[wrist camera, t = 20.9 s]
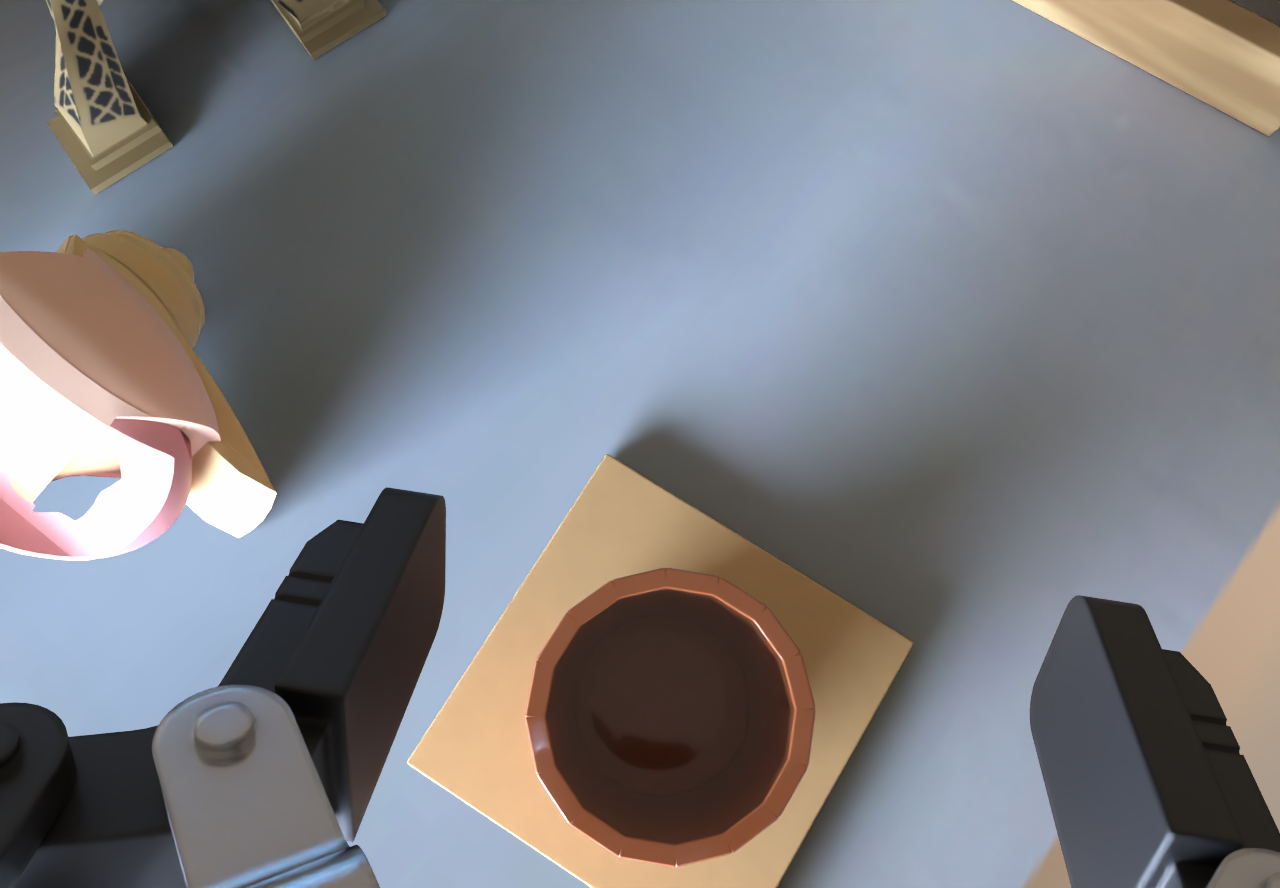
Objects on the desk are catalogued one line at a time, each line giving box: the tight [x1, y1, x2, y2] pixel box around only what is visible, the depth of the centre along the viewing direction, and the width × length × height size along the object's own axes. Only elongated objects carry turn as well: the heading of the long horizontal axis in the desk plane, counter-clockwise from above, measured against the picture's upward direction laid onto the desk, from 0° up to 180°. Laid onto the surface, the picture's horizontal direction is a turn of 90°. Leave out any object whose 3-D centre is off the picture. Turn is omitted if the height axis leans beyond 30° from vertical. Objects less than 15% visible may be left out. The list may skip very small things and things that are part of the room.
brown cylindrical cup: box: [525, 568, 816, 867], centre depth 25 cm, size 5×5×9 cm
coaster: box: [407, 454, 914, 888], centre depth 29 cm, size 10×10×1 cm
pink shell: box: [0, 230, 277, 561], centre depth 28 cm, size 9×10×10 cm
